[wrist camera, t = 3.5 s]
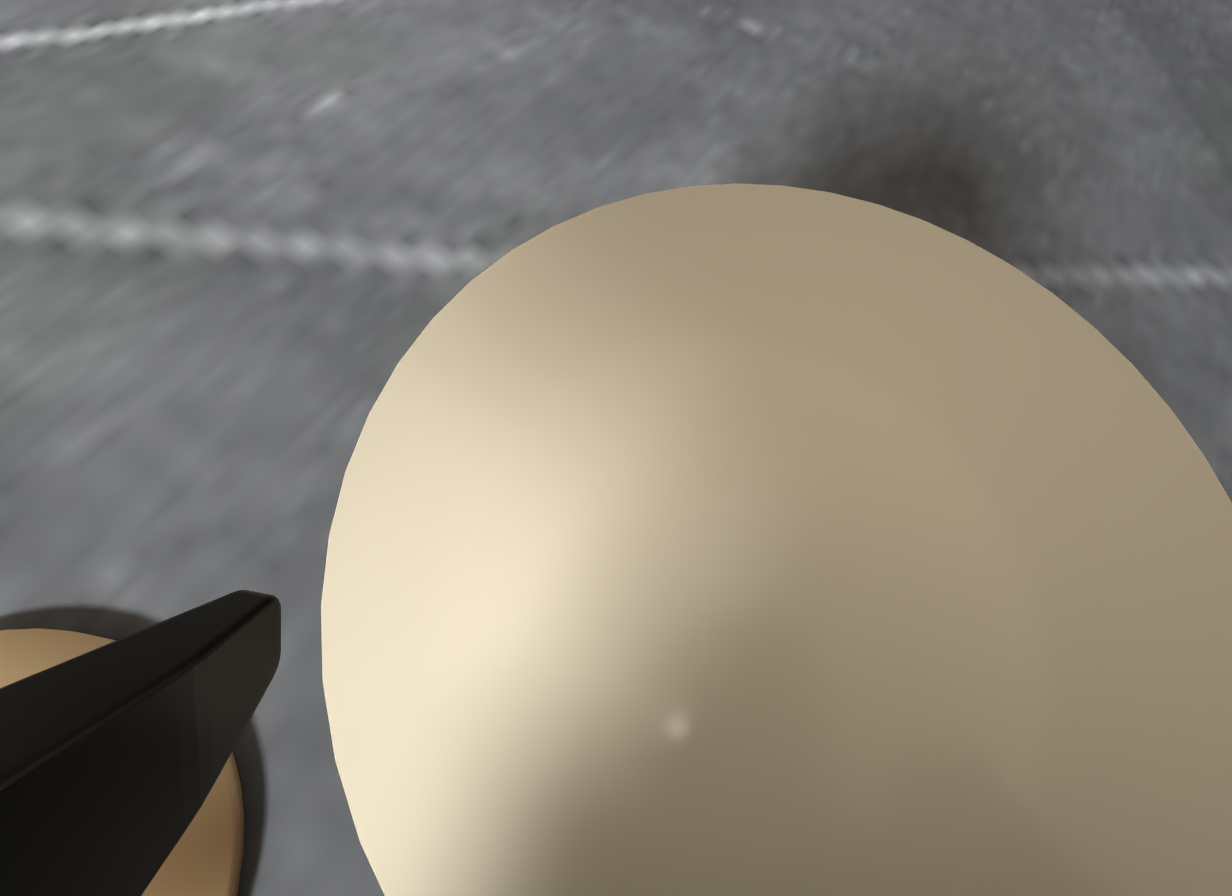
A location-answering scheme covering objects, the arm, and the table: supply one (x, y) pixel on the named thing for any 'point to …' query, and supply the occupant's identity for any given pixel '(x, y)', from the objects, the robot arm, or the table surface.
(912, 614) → the cream glossy rounded body
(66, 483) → the table surface
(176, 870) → the cork coaster
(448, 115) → the table surface
